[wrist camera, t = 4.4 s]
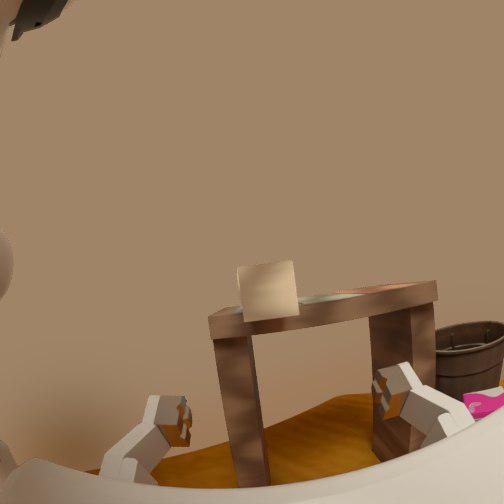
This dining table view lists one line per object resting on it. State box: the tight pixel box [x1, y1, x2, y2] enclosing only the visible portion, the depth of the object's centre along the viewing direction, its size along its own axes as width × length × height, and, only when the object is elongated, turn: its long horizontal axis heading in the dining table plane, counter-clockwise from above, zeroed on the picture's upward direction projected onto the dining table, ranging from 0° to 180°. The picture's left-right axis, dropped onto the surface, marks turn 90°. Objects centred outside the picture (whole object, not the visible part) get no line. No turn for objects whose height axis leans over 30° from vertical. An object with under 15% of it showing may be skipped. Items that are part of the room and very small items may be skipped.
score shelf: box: [208, 280, 438, 488], centre depth 30 cm, size 22×14×26 cm, turn 89°
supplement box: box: [462, 386, 504, 422], centre depth 20 cm, size 6×6×12 cm
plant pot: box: [435, 321, 504, 402], centre depth 33 cm, size 16×16×16 cm
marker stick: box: [237, 260, 299, 322], centre depth 26 cm, size 5×21×4 cm, turn 179°
